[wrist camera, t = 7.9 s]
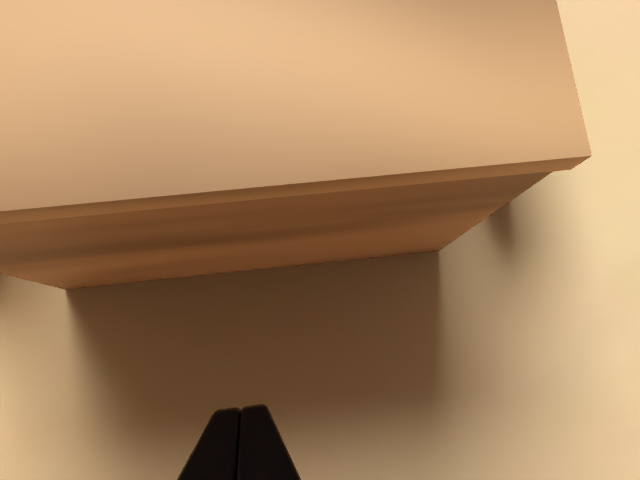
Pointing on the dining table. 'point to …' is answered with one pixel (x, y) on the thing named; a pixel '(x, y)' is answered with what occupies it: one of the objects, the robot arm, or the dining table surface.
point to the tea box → (268, 130)
